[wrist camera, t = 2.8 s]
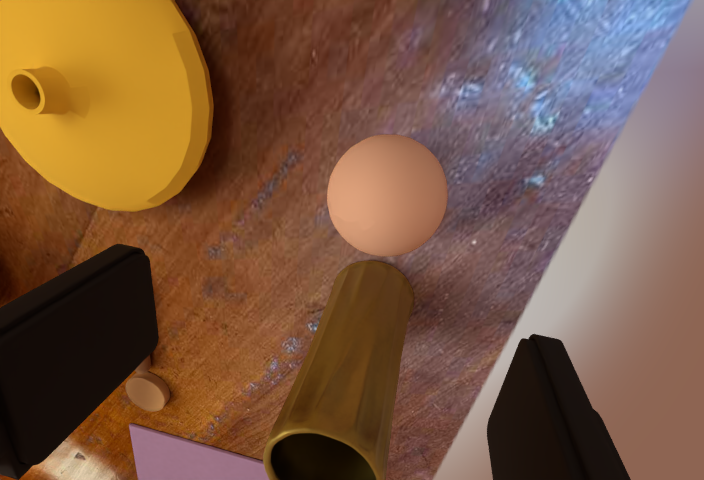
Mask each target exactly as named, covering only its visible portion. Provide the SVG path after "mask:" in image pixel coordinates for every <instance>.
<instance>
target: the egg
mask: <svg viewBox="0 0 704 480" xmlns="http://www.w3.org/2000/svg"><path fill="white" fill-rule="evenodd" d="M447 199H448V191H447V180H446V177H445V174H444V171H443V169H442V167H441V165H440V163H439V162H438V160H437V159H436V157H435V156H434V155H433V154H432V153H431V152H430V151H429V150H428V149H427V148H426V147H425V146H424V145H422V144H420V143H418V142H417V141H415V140H413V139H412V138H408V137H404V136H401V135H388V134H385V135H376V136H372V137H369V138H366V139H364V140H362V141H361V142H359V143H357V144H356V145H354V146H352V147H351V148H350V149H349V150H348V151H347V152H346V153H345V154H344V155H343V156H342V157H341V159H340V160H339V161H338V163H337V164H336V166H335V168H334V170H333V172H332V174H331V176H330V180H329V185H328V195H327V204H328V209H329V213H330V217H331V220H332V222H333V224H334V226H335V228H336V229H337V231H338V232H339V233H340V235H341V236H342V237H343V238H344V239H345V240H346V241H347V242H348V243H349V244H351V245H352V246H353V247H355V248H356V249H358V250H360V251H362V252H364V253H367V254H371V255H374V256H384V257H385V256H398V255H402V254H405V253H408V252H411V251H413V250H415V249H417V248H418V247H420V246H421V245H422V244H424V243H425V242H426V241H427V240H428V239H430V238H431V237H432V235H433V234H434V233H435V231H436V230H437V228H438V227H439V225H440V223H441V221H442V219H443V217H444V214H445V210H446V207H447Z"/></svg>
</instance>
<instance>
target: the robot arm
mask: <svg viewBox="0 0 704 480" xmlns="http://www.w3.org/2000/svg"><path fill="white" fill-rule="evenodd" d="M158 338H159V336H158V328H157V319H156V311H155V302H154V294H153V285H152V277H151V268H150V261H149V258H148V256H146V255H145V253H144V251H143V250H142V249H140V248H137V247H132V246H127V245H123V244H116V245H113V246H112V247H110V248H108V249H106V250H104V251H102V252H101V253H99V254H97V255H95V256H93V257H92V258H90V259H88V260H86V261H84V262H82V263H81V264H79V265H77V266H75V267H73V268H72V269H70V270H68V271H66V272H64V273H62V274H61V275H59V276H57V277H55V278H53V279H52V280H50V281H48V282H46V283H44V284H42V285H41V286H39V287H37V288H35V289H33V290H32V291H30V292H28V293H26V294H24V295H22V296H21V297H19V298H17V299H15V300H13V301H12V302H10V303H8V304H6V305H4V306H2V307H1V308H0V474H1V475H4V476H8V477H11V478H14V479H17V480H19V479H20V478H21V477H22V476H23V475H24V474H25V473H26V472H27V471H28V470H29V469H30V468H31V467H32V466H33V465H37V464H39V463H41V462H42V461H44V460H45V459H46V458H47V457H48V456H49V455H50V454H51V453H52V452H53V451H54V450H55V449H56V448H57V447H58V446H59V445H60V444H61V443H62V442H63V441H64V440H65V439H66V438H67V437H68V436H69V435H70V434H71V433H72V432H73V431H74V430H75V429H76V428H77V427H78V426H79V425H80V424H81V423H82V422H83V421H84V420H85V419H86V418H87V417H88V416H89V415H90V414H91V413H92V412H93V411H94V410H95V409H96V408H97V407H98V406H99V405H100V404H101V403H102V402H103V401H104V400H105V399H106V398H107V397H108V396H109V395H110V394H111V393H112V392H113V391H114V390H115V389H116V388H117V387H118V386H119V385H120V384H121V383H122V382H123V381H124V380H125V379H126V378H127V377H128V376H129V375H130V374H131V373H132V372H133V371H134V370H135V369H136V368H137V367H138V366H139V365H140V364H141V363H142V362H143V361H144V360H145V359H146V358H147V357H148V356H149V355H150V354H151V353H152V352H153V351H154V349H155V348H156V346H157V343H158ZM487 439H488V445H489V453H490V460H491V467H492V474H493V480H631V479H630V477H629V475H628V473H627V471H626V469H625V467H624V465H623V462H622V460H621V458H620V456H619V454H618V452H617V450H616V448H615V446H614V443H613V441H612V439H611V437H610V435H609V433H608V431H607V429H606V426H605V424H604V422H603V420H602V418H601V417H600V415H599V414H598V413H597V412H596V411H595V410H594V409H593V408H592V406H591V404H590V402H589V399H588V397H587V395H586V393H585V391H584V389H583V386H582V384H581V382H580V380H579V378H578V375H577V373H576V371H575V369H574V367H573V364H572V362H571V360H570V358H569V356H568V354H567V351H566V349H565V347H564V345H563V343H562V341H561V340H559V339H555V338H550V337H545V336H541V335H536V334H532V335H531V336H530V337H529V339H521V340H520V342H519V344H518V347H517V349H516V352H515V355H514V357H513V360H512V363H511V365H510V367H509V370H508V372H507V375H506V377H505V380H504V383H503V385H502V388H501V390H500V393H499V395H498V398H497V400H496V403H495V405H494V408H493V410H492V413H491V415H490V418H489V421H488V426H487Z"/></svg>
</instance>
